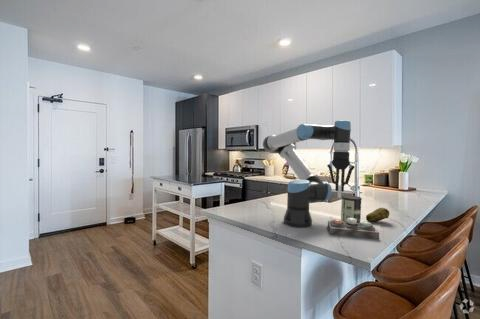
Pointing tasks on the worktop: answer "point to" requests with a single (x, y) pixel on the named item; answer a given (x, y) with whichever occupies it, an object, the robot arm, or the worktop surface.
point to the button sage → (366, 224)
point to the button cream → (351, 220)
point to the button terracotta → (337, 221)
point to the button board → (353, 230)
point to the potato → (377, 215)
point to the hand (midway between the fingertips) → (339, 197)
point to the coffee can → (351, 208)
